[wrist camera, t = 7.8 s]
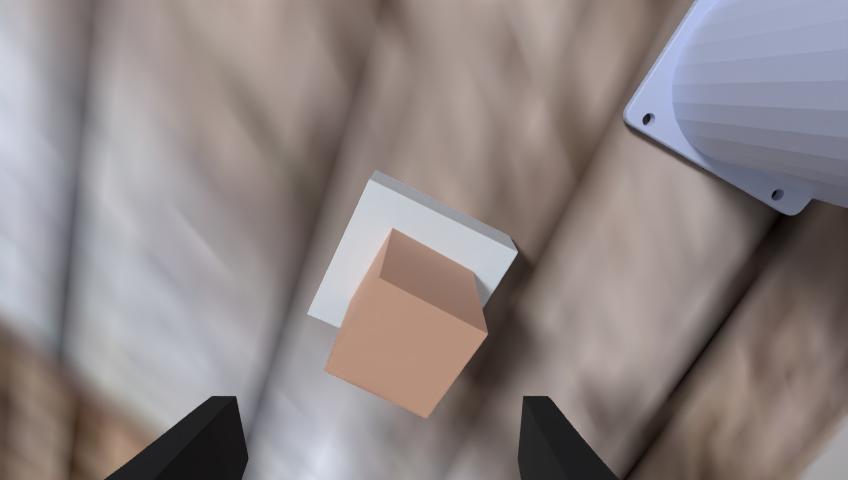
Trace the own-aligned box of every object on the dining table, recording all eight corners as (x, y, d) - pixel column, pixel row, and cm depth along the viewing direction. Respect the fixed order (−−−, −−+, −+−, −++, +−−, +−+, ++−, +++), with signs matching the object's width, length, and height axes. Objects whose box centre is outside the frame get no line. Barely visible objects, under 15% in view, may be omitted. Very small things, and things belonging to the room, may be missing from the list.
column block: (472, 271, 18) (488, 334, 13) (427, 338, 19) (426, 418, 15) (392, 227, 17) (379, 277, 13) (350, 300, 19) (323, 370, 14)
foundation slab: (508, 233, 20) (518, 252, 18) (441, 342, 22) (442, 372, 20) (377, 168, 19) (369, 179, 17) (320, 289, 21) (307, 313, 19)
